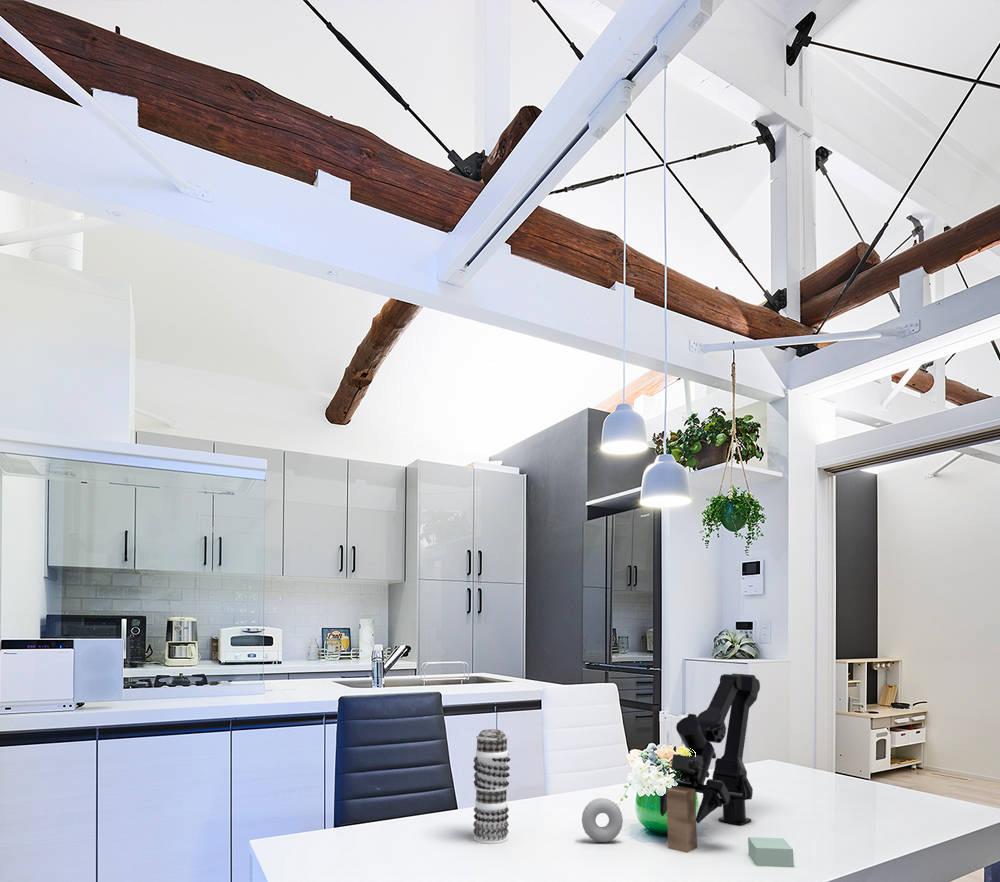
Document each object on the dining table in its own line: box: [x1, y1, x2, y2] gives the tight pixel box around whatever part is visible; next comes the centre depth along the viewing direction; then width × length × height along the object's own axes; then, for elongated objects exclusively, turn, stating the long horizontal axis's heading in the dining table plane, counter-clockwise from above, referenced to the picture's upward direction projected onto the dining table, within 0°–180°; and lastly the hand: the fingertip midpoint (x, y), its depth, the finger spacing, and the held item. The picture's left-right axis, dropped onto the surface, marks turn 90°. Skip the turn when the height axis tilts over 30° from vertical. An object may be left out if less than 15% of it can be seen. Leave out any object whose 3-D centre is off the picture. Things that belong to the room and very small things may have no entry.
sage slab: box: [747, 836, 795, 868], centre depth 179 cm, size 8×8×4 cm
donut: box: [581, 797, 624, 843], centre depth 192 cm, size 10×4×10 cm, turn 92°
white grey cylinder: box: [472, 728, 511, 845], centre depth 195 cm, size 9×9×25 cm
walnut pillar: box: [666, 786, 698, 853], centre depth 188 cm, size 5×5×13 cm
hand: (679, 818), depth 187 cm, fingers open, 9 cm apart
